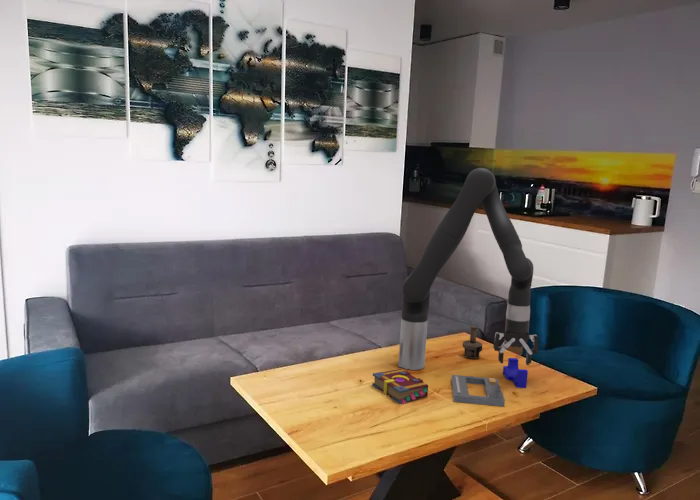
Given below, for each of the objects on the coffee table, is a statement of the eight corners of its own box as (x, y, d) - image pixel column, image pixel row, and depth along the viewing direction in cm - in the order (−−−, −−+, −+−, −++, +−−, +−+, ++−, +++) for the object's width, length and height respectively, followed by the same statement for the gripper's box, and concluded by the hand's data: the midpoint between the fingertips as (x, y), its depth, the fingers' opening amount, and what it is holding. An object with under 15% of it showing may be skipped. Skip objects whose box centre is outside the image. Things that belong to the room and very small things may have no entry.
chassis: (454, 401, 168) (454, 393, 168) (451, 380, 185) (451, 372, 185) (504, 406, 167) (504, 398, 166) (496, 384, 183) (497, 376, 183)
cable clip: (502, 374, 193) (504, 357, 192) (515, 374, 193) (517, 358, 192) (512, 388, 181) (514, 370, 180) (526, 388, 181) (527, 371, 180)
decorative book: (400, 380, 184) (401, 366, 183) (430, 399, 170) (431, 384, 169) (371, 386, 178) (372, 371, 177) (400, 406, 164) (401, 390, 163)
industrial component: (485, 358, 208) (488, 327, 206) (473, 361, 203) (475, 330, 201) (466, 350, 215) (469, 321, 213) (454, 354, 211) (456, 323, 209)
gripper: (497, 319, 181) (494, 366, 183) (542, 321, 179) (538, 369, 181) (494, 312, 188) (491, 358, 191) (537, 315, 186) (533, 361, 189)
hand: (514, 363), depth 186 cm, fingers open, 8 cm apart
